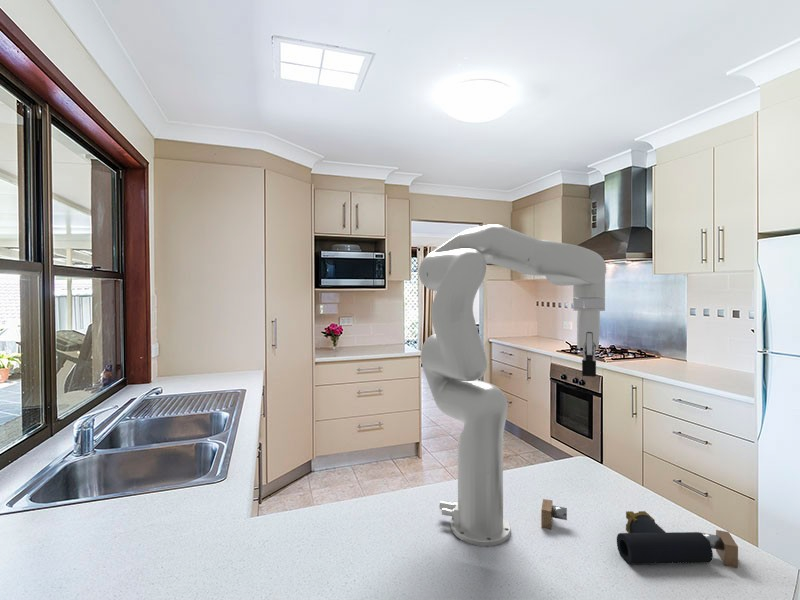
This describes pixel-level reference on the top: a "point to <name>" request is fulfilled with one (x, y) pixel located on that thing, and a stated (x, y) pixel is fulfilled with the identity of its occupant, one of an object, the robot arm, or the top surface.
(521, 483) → the top surface
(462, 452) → the robot arm
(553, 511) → the left shaft
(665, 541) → the pipe connector
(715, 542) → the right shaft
